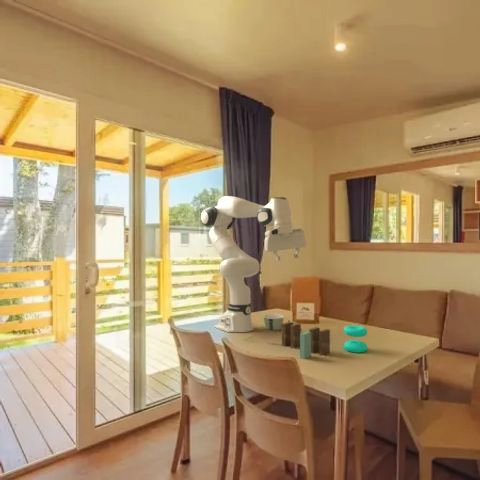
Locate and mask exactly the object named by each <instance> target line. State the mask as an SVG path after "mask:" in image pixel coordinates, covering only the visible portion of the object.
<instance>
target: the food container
mask: <svg viewBox="0 0 480 480" xmlns="http://www.w3.org/2000/svg"><path fill="white" fill-rule="evenodd" d="M262 318H263V320H264V321H263V322H264V329H266V330H271V331H276V330H277V331H278V330H282V324H283V323H284V320H285V319H284V318H285V315H283V314H278V313H268V314H267V313H266V314H263V315H262Z"/></svg>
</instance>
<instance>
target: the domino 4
mask: <svg viewBox="0 0 480 480" xmlns="http://www.w3.org/2000/svg"><path fill="white" fill-rule="evenodd" d="M319 331H321V330H320V327H319V326H318V327H317V326H315V327H313V328H312V327H311V328H309V331H308V332H311V354H315V353H317V352H320V348H319Z"/></svg>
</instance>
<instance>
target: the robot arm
mask: <svg viewBox="0 0 480 480" xmlns="http://www.w3.org/2000/svg"><path fill="white" fill-rule="evenodd" d="M291 215H292V214H291V206H290V202H289V200H288V199H287V198H286V197H281V196H280V197H279V196H278V197H276V196H275V197H271V198H270V201H269V202H268V203H267V204H266V205H263V204H259V203H255V202H252V201H249V200H246V199H244V198H241V197H239V196H238V197H237V196H234V195H233V196H232V195H228V196H227V195H225V196H222V197H221V198H220V199H218V202H217V205H216V206H214V205H211V206H209V207H207V208H205V209H203V210H202V212H201V213H200V222H201V224H202V225H203V226H205V227H208V228H210V230H209V232H208V235H209V236H208V237H209V239H210V242H211V244H212V245H213V247H214V248H215V251H217V253H218V255H219V256H220V258H221V259H223V260H222V261H221V263H220V264H219V273H220V275H221V277H222V278H224V280H225V281H226V282H227V284H228V288H229V301H230V302H229V303H227V304H226V307H227V310H225V311H224V312H223V313H222V314H221V315H220V316H219V320H218V323H217V324H215V325H214V328H216V329H218V330H221V331H224V332H226V333H246V332H251V331H254V324H253V317H252V303H251V288H250V287H249V286H248V285H246V283H245V279H244V278H251V277H253V276H255V275H257V274H258V273H259V272H260V267H261V266H260V262H259V261H258V259H256V258H254V257H252V256H250V255H248V254H247V253H246V252H245V251H243V249H241V248H240V247H239V246H238V245H237V243H236V242H235V241H234V239H233V238H232V236H231V235H230V234H229V232H228V230H230V229H231V228H232V227H233V225H234V224H235V223H236V220H237V219H246V218H255V217H256V219H257V222H258V224H259V225H260V226H262V227H273V228H271V229H269V230H266V231H265V232H264V236H265V238H264V250H265V251H266V253H271V252H272V254H273V255H274V257H275V260H276V261H281V256H279V255H278V251H284V250H285V251H286V250H293V249H295V250H294V251H296V252H295V253H294V254H293V256H294V257H293V258H294V259H299V258H300V257H299V256H300V255H299V254H300V251H301V249H300V248H306V246H307V241H306V237H305V231H304V229H302V228H293V222H292V219H291V218H292V217H291Z"/></svg>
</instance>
